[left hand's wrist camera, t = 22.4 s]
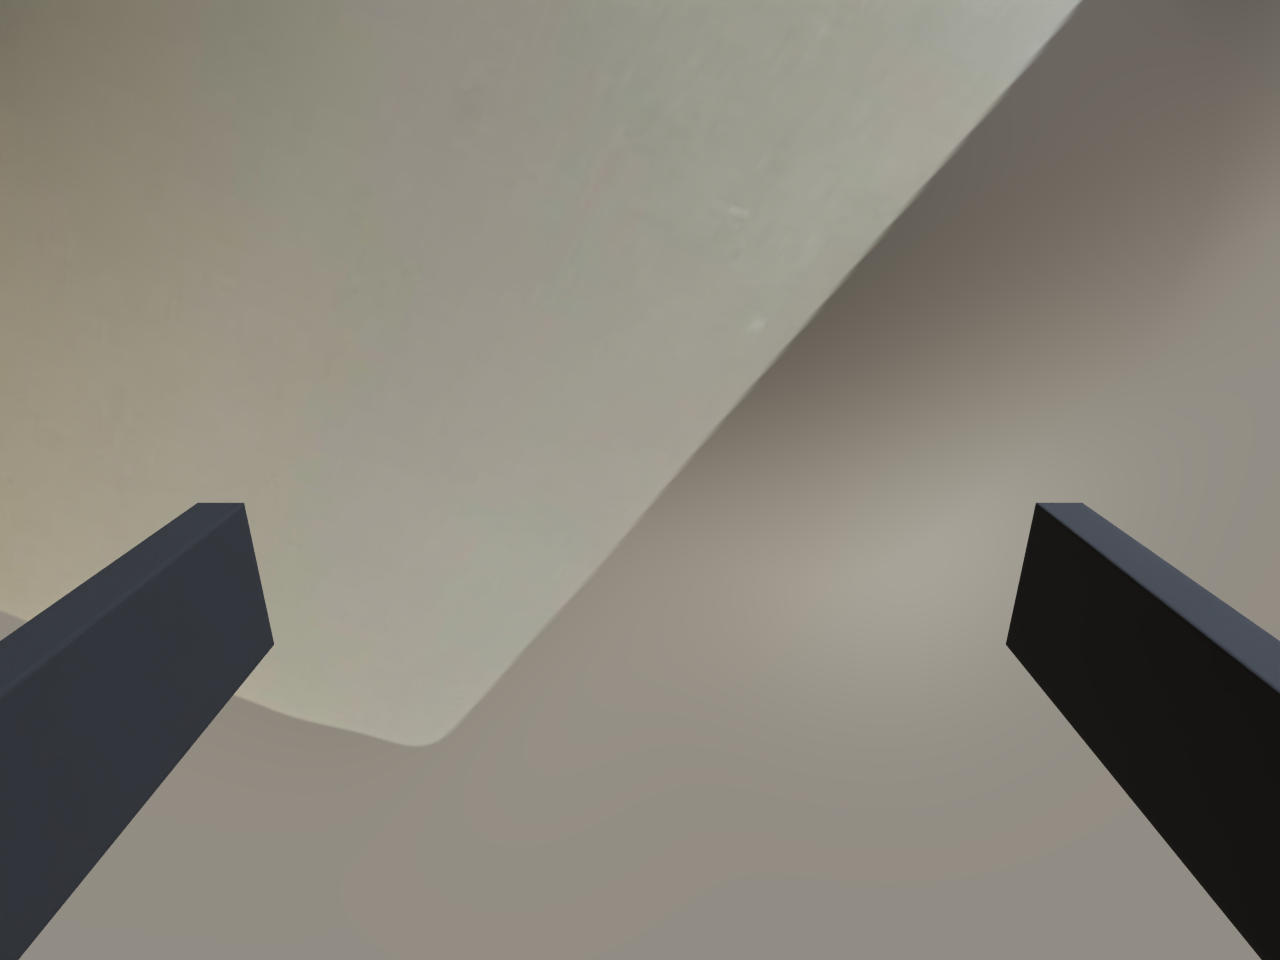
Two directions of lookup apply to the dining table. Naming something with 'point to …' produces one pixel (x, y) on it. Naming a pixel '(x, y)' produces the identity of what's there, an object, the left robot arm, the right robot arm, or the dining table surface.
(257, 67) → the dining table surface
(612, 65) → the dining table surface
